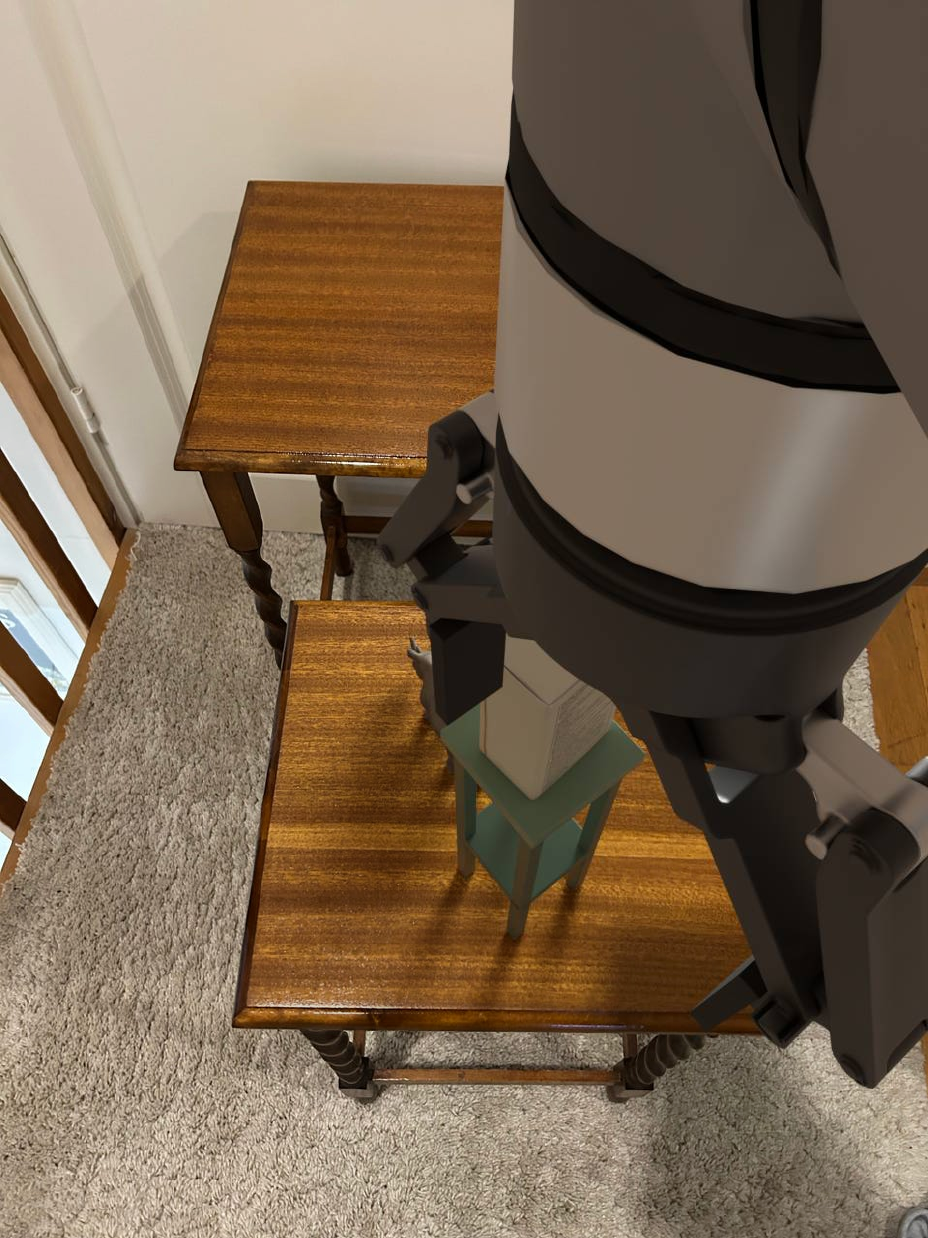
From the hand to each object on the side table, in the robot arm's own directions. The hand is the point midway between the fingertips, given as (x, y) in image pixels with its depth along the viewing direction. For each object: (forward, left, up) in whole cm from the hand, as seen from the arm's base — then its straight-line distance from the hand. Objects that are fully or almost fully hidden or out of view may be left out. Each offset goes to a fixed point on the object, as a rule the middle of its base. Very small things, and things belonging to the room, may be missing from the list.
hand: (587, 835), depth 33 cm
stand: (+8, -6, -41) cm, 42 cm away
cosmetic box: (+8, -6, -15) cm, 18 cm away
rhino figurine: (+23, -10, -41) cm, 48 cm away
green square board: (+8, -6, -16) cm, 19 cm away
